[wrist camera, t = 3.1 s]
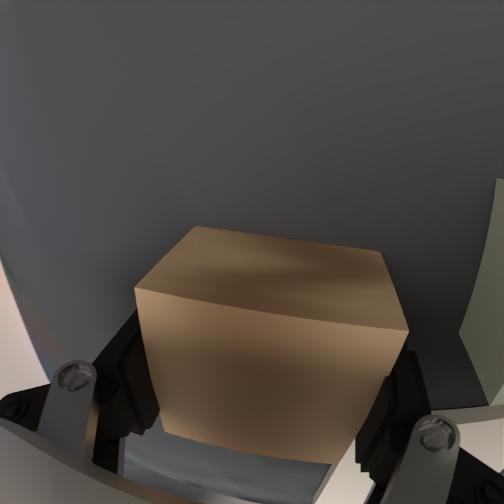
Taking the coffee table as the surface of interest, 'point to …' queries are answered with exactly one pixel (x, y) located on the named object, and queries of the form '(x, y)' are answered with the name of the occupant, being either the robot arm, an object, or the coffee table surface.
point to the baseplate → (471, 439)
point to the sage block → (489, 309)
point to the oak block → (269, 341)
